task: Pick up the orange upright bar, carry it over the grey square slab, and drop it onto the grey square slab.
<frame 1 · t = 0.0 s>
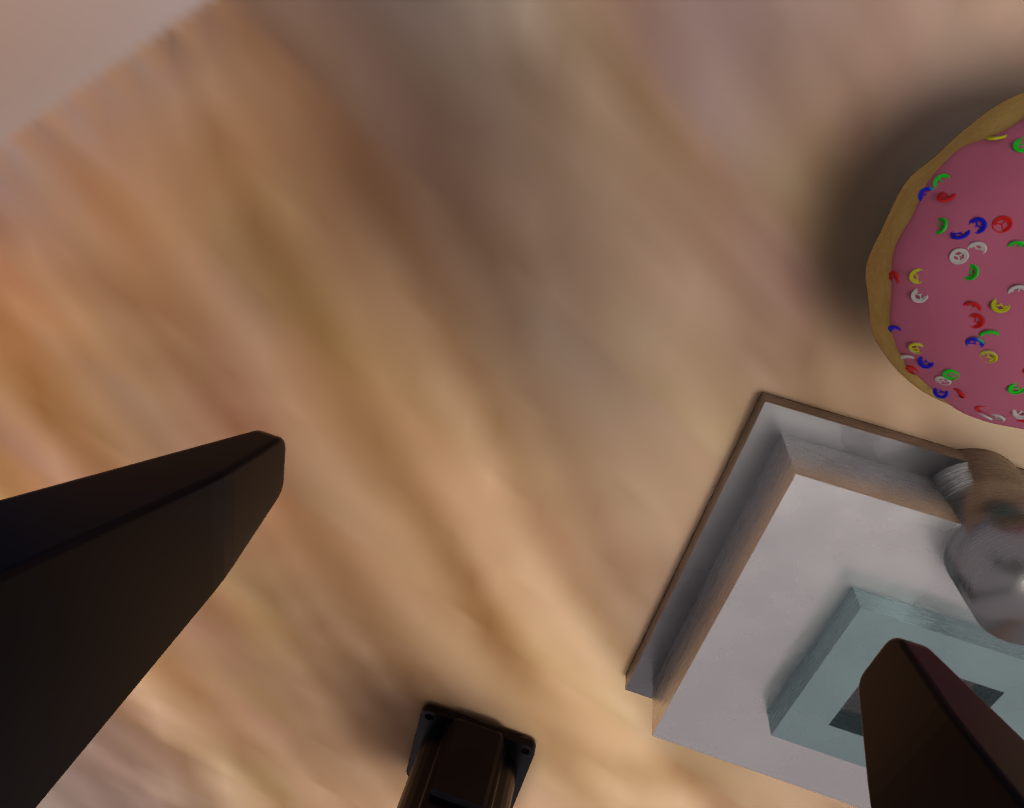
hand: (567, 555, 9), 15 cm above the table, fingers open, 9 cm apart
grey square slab: (872, 615, 25), on the table
cupcake: (984, 230, 19), on the table
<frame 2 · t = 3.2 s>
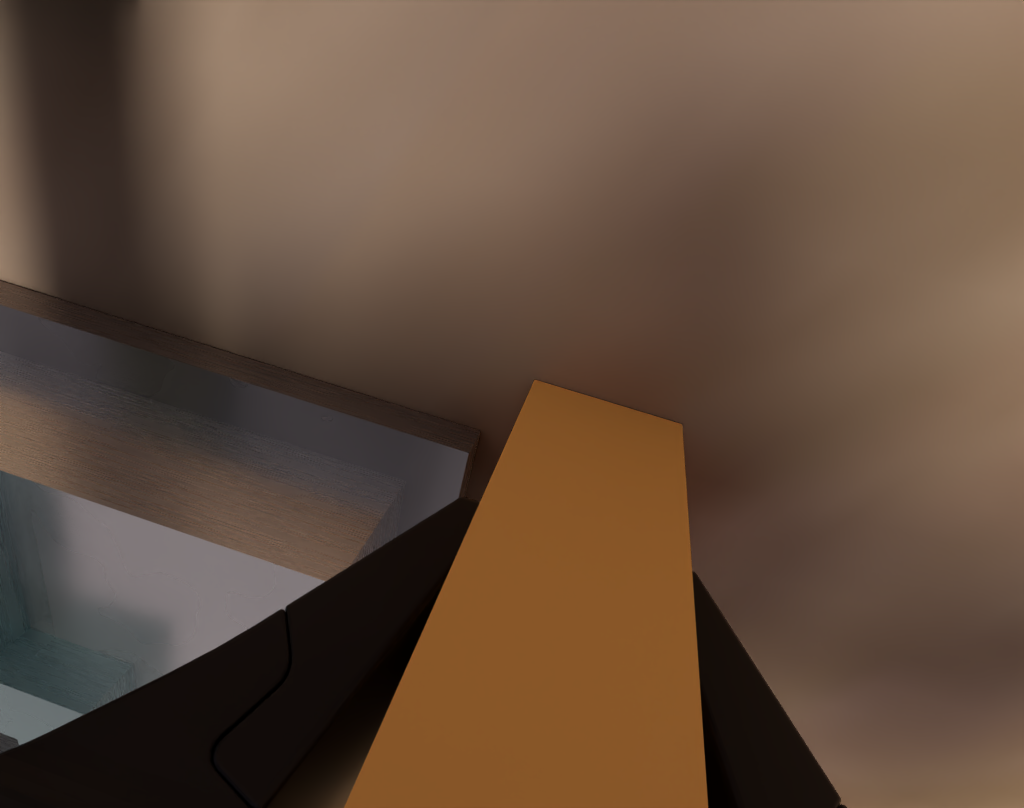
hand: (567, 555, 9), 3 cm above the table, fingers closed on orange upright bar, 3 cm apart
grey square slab: (121, 598, 16), on the table
orange upright bar: (586, 463, 11), on the table, touching gripper
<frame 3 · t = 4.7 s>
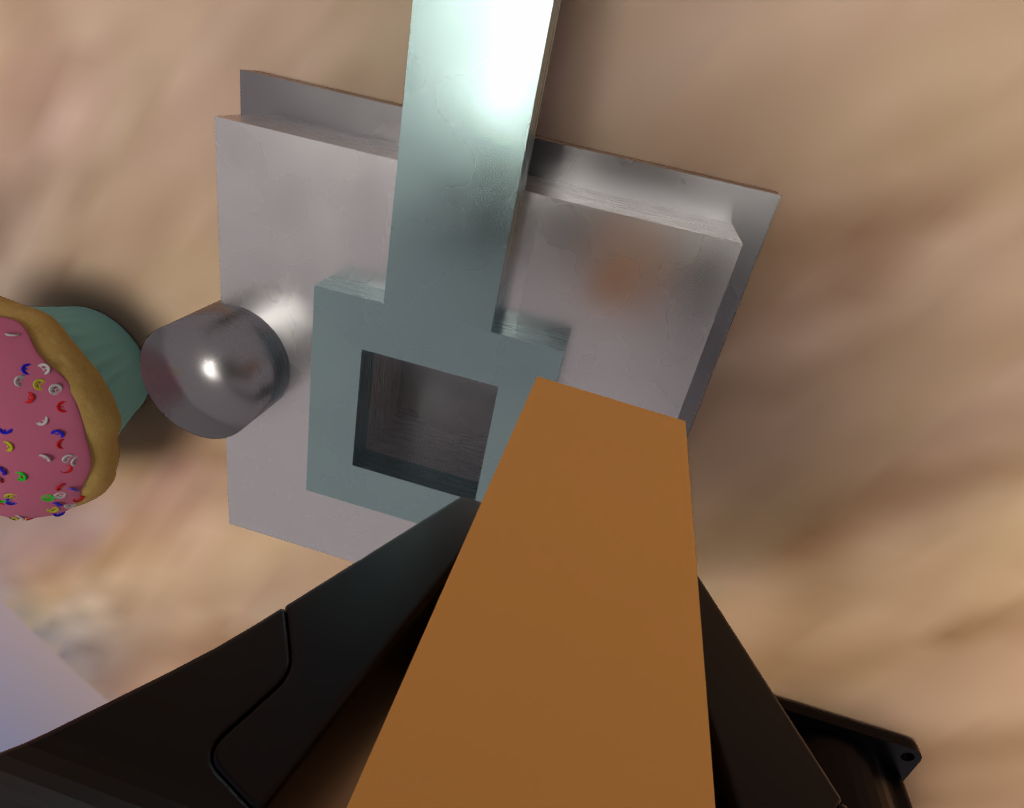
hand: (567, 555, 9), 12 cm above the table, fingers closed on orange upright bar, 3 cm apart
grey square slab: (463, 368, 22), on the table
orange upright bar: (589, 460, 11), point 10 cm above the table, touching gripper
cupcake: (105, 358, 26), on the table
when the fingers open (6 cm above the table, at t = 6.3 s): orange upright bar drops 2 cm, resting on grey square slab.
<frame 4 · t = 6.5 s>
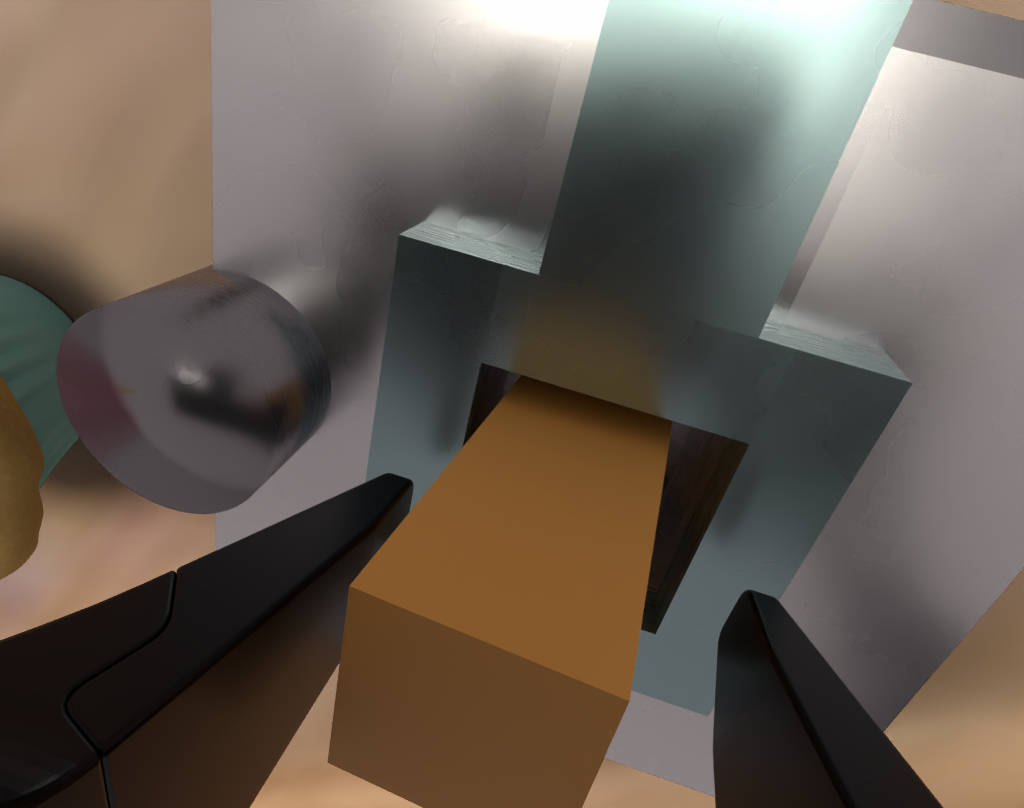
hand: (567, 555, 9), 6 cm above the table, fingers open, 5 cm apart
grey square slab: (599, 391, 14), on the table
orange upright bar: (598, 409, 13), point 1 cm above the table, tilted 6°, touching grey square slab
cupcake: (37, 354, 17), on the table
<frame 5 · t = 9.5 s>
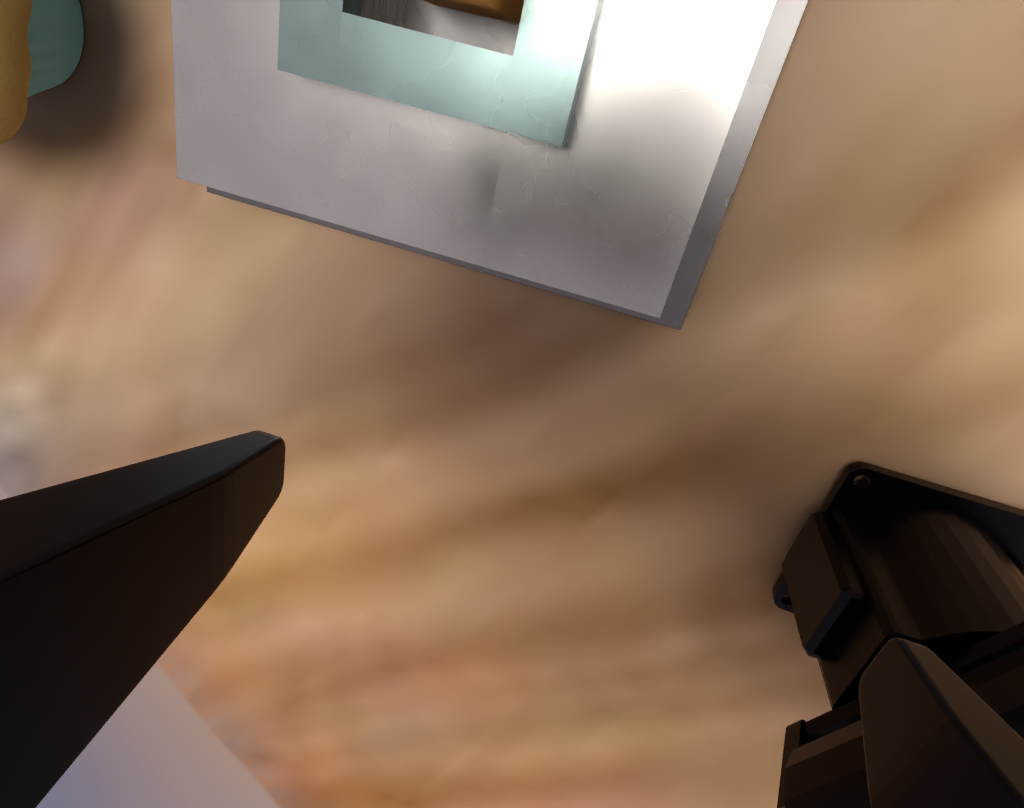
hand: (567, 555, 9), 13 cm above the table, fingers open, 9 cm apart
cupcake: (28, 4, 20), on the table
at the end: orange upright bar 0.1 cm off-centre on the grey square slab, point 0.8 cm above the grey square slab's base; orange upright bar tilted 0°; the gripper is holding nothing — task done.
